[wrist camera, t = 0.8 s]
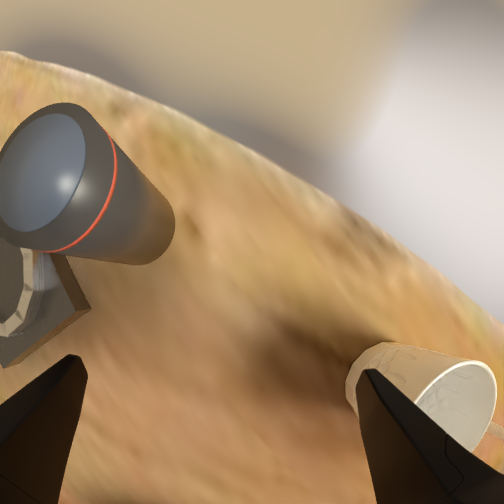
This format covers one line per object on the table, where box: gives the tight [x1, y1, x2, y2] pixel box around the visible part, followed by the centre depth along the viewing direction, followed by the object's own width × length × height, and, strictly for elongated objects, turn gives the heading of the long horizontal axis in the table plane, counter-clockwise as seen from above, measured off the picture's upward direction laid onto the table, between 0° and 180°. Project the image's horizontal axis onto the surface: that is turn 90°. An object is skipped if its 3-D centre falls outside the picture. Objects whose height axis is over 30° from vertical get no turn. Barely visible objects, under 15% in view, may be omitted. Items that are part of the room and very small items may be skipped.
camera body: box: [0, 235, 91, 369], centre depth 19 cm, size 13×11×4 cm
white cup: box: [345, 342, 497, 452], centre depth 17 cm, size 8×8×10 cm
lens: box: [0, 103, 175, 265], centre depth 15 cm, size 6×6×13 cm
